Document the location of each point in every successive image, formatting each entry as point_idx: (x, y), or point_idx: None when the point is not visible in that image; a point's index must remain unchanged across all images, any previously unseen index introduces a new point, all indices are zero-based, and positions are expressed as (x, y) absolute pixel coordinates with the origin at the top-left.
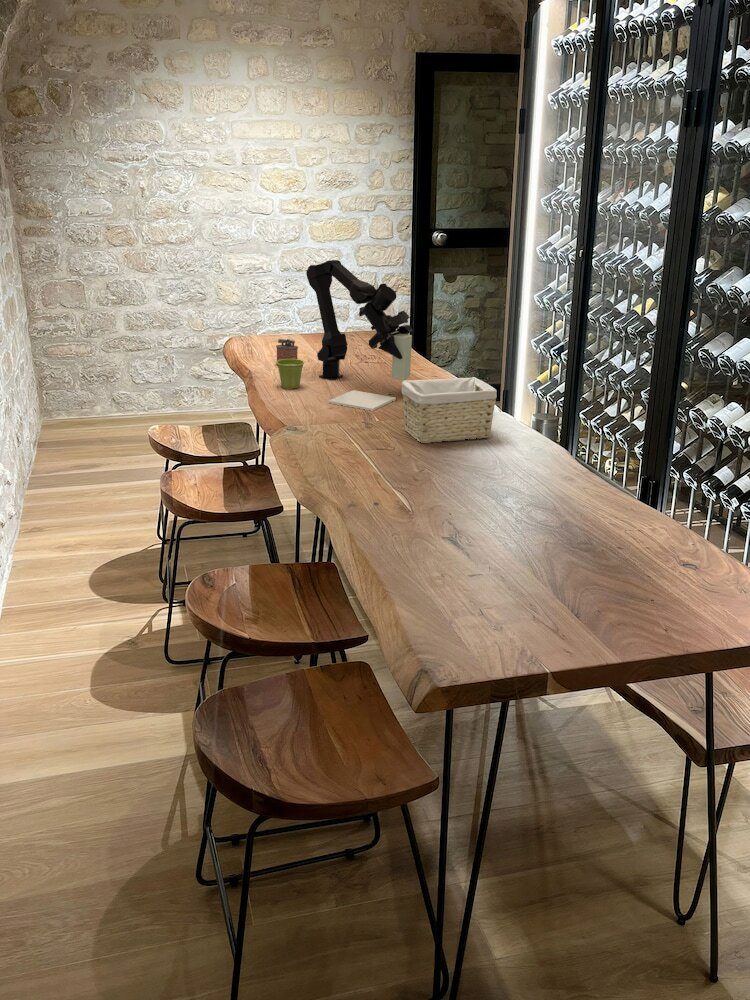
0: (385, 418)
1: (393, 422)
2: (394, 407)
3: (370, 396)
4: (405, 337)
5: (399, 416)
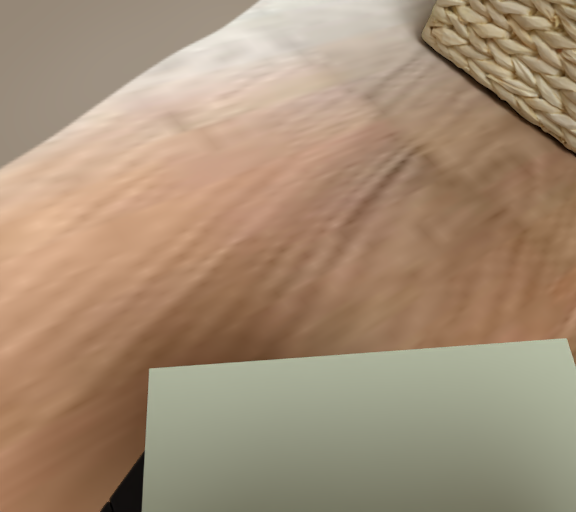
0: (561, 270)
1: (570, 227)
2: (432, 318)
3: None
4: (565, 352)
5: (507, 243)
